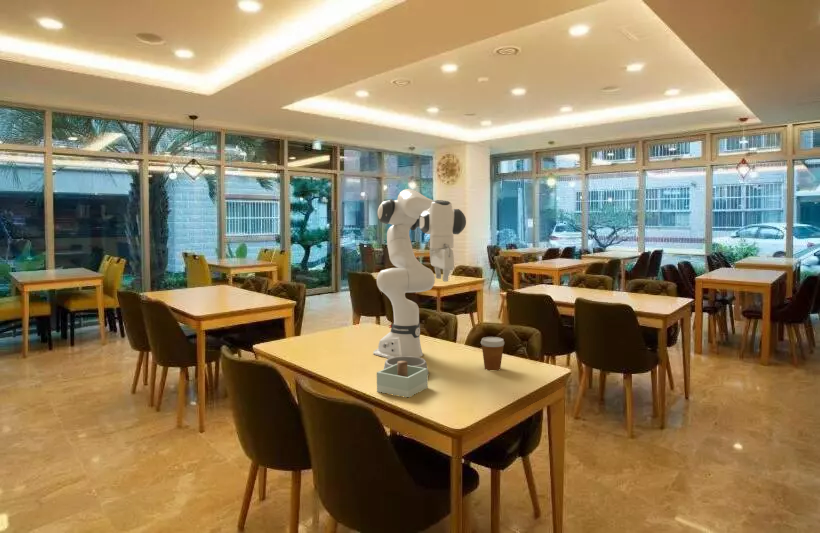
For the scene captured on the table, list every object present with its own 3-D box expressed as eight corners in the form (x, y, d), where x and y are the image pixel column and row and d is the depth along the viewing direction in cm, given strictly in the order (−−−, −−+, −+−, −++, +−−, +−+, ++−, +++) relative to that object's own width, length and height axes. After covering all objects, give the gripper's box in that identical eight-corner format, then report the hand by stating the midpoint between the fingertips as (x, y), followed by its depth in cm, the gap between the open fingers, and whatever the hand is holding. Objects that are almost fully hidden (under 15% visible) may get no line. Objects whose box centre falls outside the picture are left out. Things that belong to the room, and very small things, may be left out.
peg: (395, 390, 186) (395, 362, 185) (401, 387, 189) (400, 360, 188) (404, 391, 184) (403, 364, 183) (409, 389, 187) (409, 361, 186)
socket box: (376, 391, 184) (376, 372, 184) (397, 381, 195) (397, 363, 195) (408, 398, 177) (407, 378, 177) (427, 387, 188) (427, 368, 188)
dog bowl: (401, 365, 218) (401, 352, 218) (437, 373, 207) (437, 359, 206) (373, 375, 205) (373, 361, 205) (410, 384, 193) (410, 369, 193)
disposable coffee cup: (486, 373, 205) (486, 342, 204) (476, 366, 214) (476, 337, 213) (508, 370, 208) (508, 341, 206) (498, 364, 217) (498, 335, 216)
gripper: (458, 244, 188) (458, 282, 190) (442, 242, 208) (442, 276, 210) (441, 245, 187) (441, 283, 188) (427, 242, 207) (427, 277, 208)
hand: (441, 279), depth 199 cm, fingers open, 8 cm apart
